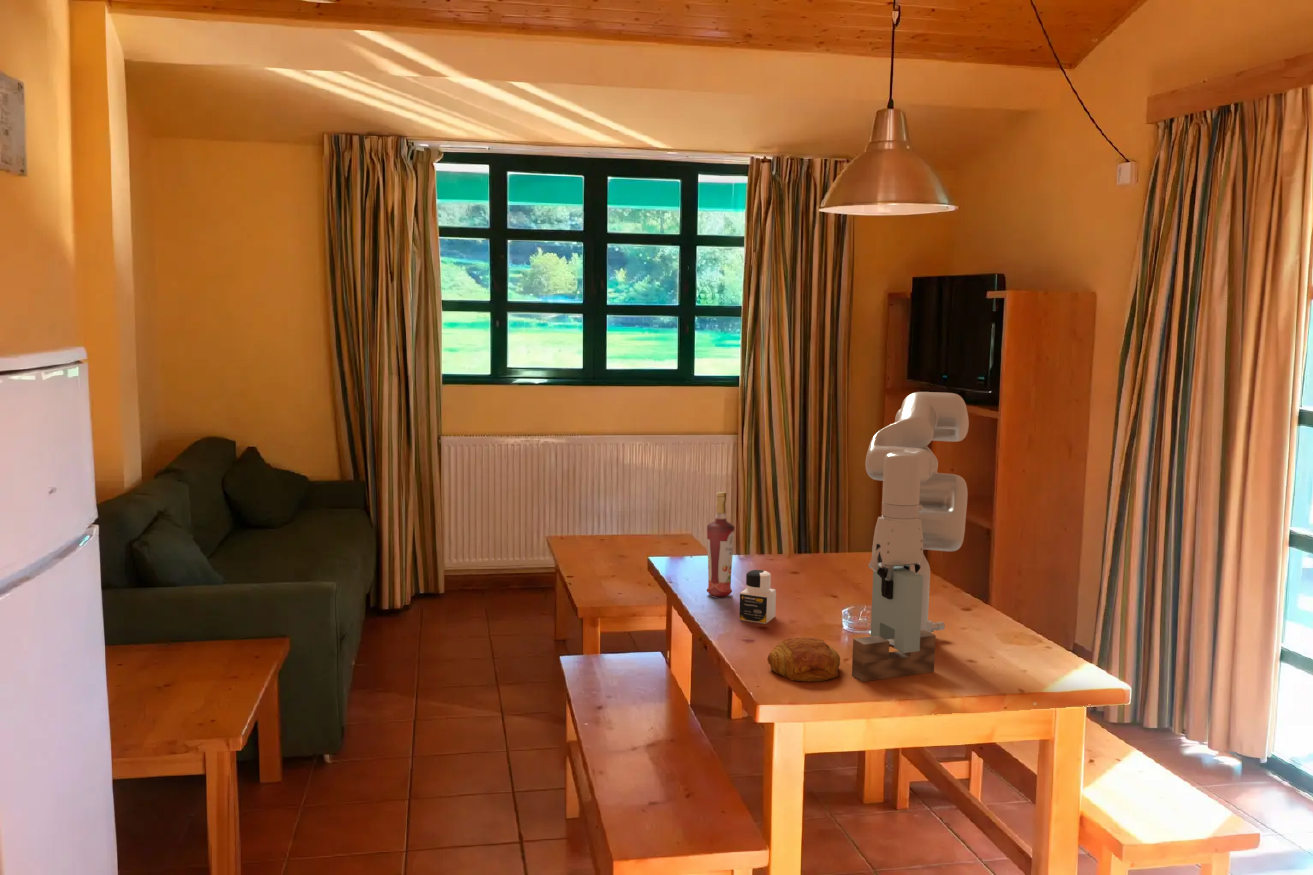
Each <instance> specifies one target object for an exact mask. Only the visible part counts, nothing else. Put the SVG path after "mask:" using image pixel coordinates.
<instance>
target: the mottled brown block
mask: <svg viewBox="0 0 1313 875" xmlns="http://www.w3.org/2000/svg"><path fill="white" fill-rule="evenodd" d="M936 637H937V636H936V634H933V632H931V633H930V632H928V631H926V630H920V651H915V652H907V653H902V652H900V651H898V650H896V651H890V644H889V641H888V640H886V639H884V638H882V637H880V636H871V635H870V636H864V637H858V638H857V637H856V638H853V640H852V661H851V676H852V677H854V678H856V679H857V680H859V681H860V682H863V683H864V682H869V681H877V680H885V679H891V678H897V677H898V678H899V677H906V676H912V675H913V676H914V675H918V674H925V673H931V672H933V673H934V671H935V661H936V660H935V659H936V658H935V656H936V639H937V638H936Z"/></svg>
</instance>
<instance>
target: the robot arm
mask: <svg viewBox="0 0 1313 875" xmlns="http://www.w3.org/2000/svg"><path fill="white" fill-rule="evenodd" d="M901 403H902V404H901V408H900V409H898V411H897V412H896V414H895V418H894V422H893V423H890V424H889V425H887V426H885V427H883V428H882V429H879V430H878V431H877V432H876V433H875V434H874V435H873V437H872V438H871V440H870V442H869V446H868V449H867V452H866V457H865V461H864V462H865V463H864V465H865V471H866V474H867V475H868V477H870V478H871V479H872V480H875V481H881V482H882V496H881V497H882V498H881V500H882V502H881V516H878V517H877V521H876V524H875V527H874V533H873V541H872V547H871V559H870V561H869V563H868V567H869V568H870V570H871V569H872V571H873V570H874V571H875V572H876V573H877V574H878V575H879V577H880V578H882V583H881V593H882V596H883V597H885V598H887V599H892V598H893V581H892V580H891V578H892V573H893V568H894V566H900V567H902V568H905V569H907V570H910V571H913V572H915V573H918V574H920V575H923V588H922V609H921V630H926V631H928V632H930V633H934V631H943V630H945V629H946V628H945V627H946V625H945V623H944V621H938V622H937V621H936V622H934V621H933V620H929V607H930V606H929V604H930V602H929V601H930V587H931V586H930V584H931V582H930V581H931V568H930V564H929V562H928V559H927V558H926V556H925V554H924V550H925V551H926V550H927V551H940V552H955V551H958V550H959V549H960V548H961V547H962V545H963V543H964V538H965V532H966V521H967V520H966V519H967V507H968V495H969V494H968V486H967V482H966V480H965V479H964V478H963V477H962V476H961V475H958V474H955V473H944V472H943V473H942V472H938V469H939V468H938V467H939V461H938V458H937V457H936V454H934V453H933V451H932V449H931V448H929V447H928V446H929V445H930V443H931V442H932V441H934V442H937V441H938V442H955V443H957V442H962V441H963V440H964V439H965V438H966V437H967V435H968V432H969V425H970V423H969V422H970V421H969V413H968V408H967V404H966V402H965V400H964V399H963V397H962V396H961V395H959V394H958V393H953V392H935V391H934V392H933V391H931V392H930V391H915V392H912V393H910V394H909V395H907V396H906V397H905V398H904V399H903V401H902V402H901ZM879 563H881V567H880V566H879V565H878V564H879ZM886 570H887V571H886ZM888 641H889V646H893V647H894V639H888Z"/></svg>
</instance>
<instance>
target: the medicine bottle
mask: <svg viewBox="0 0 1313 875" xmlns="http://www.w3.org/2000/svg"><path fill="white" fill-rule="evenodd" d="M771 576H772V574H771V573H770V572H769V571H767V570H763V569H751V570H750V571H748V572H746V575H745V578H746V579H745V589H744V590H742V591H740V593H739V617H738V618H739V620H740V621H743V622H750V623H756V624H763V625H767V624H768V623H769V622H771V620H773V619H774V618H775V617H776V610H777V609H776V606H777V604H776V603H777V602H776V601H777V590H776V589H775V588H772V587H771V584H772V583H771V582H772V581H771V580H772V579H771V578H772V577H771Z"/></svg>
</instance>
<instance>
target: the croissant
mask: <svg viewBox="0 0 1313 875" xmlns="http://www.w3.org/2000/svg"><path fill="white" fill-rule="evenodd" d="M767 663H768V665H770V670H771V671H772V672H774V673H776V674H777V675H781V676H782V677H786V678H787V679H788V680H789V681H796V682H797V681H798V682H804V683H805V682H824V681H826V680H830V679H835V678H837V677H838V676H839V675H838V670H839V668H840V666H841V657H840V654H839V653H838V651H837V650H835V649H834V648H833V647H832V646H831V645H829V644H827V643H826V642H825V641H824V640H823V639H819V638H816V637H794V638H787V639H784V640H781V641H780V642H779V643H778V644H776V645H775V646H774V647H773V649H772V650H771V651H770V652H769V653H768V656H767Z"/></svg>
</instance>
